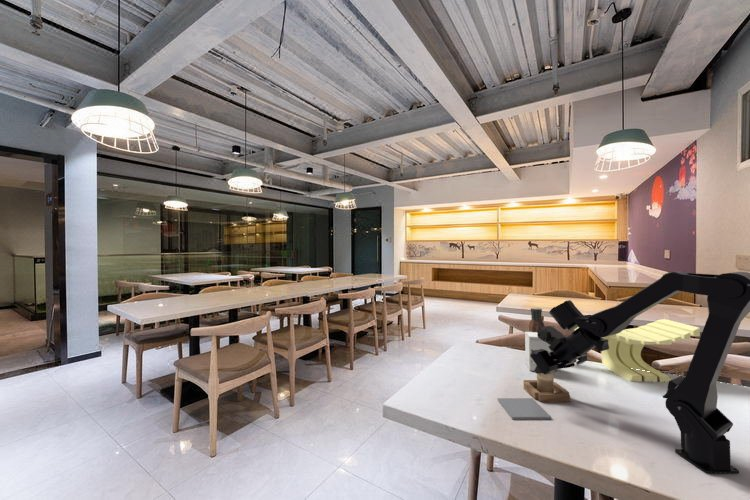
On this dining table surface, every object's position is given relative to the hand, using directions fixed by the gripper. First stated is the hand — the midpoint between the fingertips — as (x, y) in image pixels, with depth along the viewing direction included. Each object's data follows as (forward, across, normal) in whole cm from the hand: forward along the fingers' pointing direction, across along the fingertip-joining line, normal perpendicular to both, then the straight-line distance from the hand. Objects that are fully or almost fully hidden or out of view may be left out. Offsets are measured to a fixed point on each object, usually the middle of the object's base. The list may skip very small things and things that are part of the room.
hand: (540, 370), depth 93 cm
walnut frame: (+4, 0, +6) cm, 7 cm away
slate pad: (+2, +14, +8) cm, 16 cm away
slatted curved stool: (+1, -42, +9) cm, 43 cm away
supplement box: (+14, -16, -4) cm, 22 cm away
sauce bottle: (+19, -27, -10) cm, 35 cm away
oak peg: (+4, 0, +6) cm, 7 cm away
